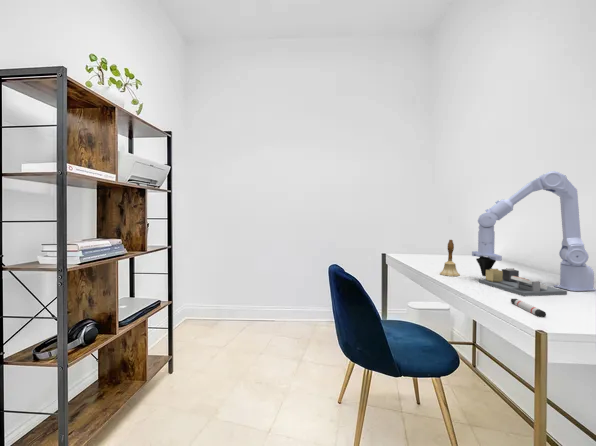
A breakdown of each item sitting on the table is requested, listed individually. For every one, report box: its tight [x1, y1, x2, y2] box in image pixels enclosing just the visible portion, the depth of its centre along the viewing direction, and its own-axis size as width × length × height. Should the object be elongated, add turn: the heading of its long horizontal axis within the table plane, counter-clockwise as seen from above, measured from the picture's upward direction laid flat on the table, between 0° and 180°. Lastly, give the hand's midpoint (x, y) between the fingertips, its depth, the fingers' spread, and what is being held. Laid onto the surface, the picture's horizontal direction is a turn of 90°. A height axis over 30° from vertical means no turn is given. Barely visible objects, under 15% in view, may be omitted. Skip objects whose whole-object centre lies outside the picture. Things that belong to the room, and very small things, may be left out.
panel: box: [478, 277, 568, 297], centre depth 121 cm, size 16×22×5 cm
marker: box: [510, 298, 547, 318], centre depth 94 cm, size 15×2×2 cm, turn 174°
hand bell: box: [439, 239, 461, 277], centre depth 147 cm, size 8×8×16 cm
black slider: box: [501, 267, 520, 281], centre depth 128 cm, size 4×4×5 cm
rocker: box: [511, 276, 548, 290], centre depth 113 cm, size 10×5×1 cm, turn 98°
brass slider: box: [485, 268, 503, 282], centre depth 127 cm, size 4×4×5 cm
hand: (485, 276), depth 131 cm, fingers closed
